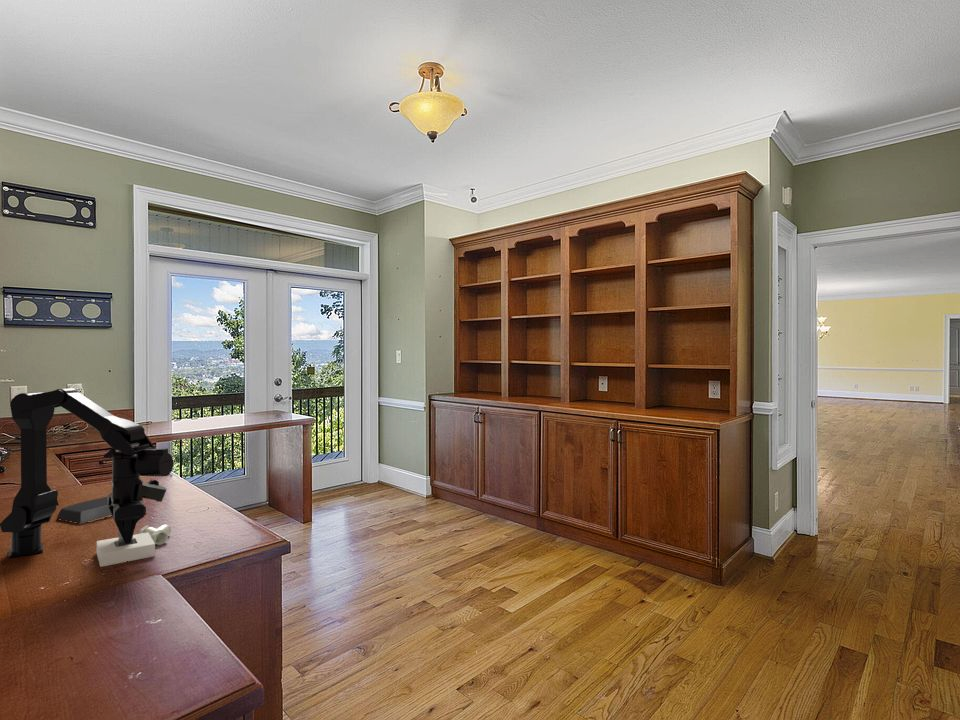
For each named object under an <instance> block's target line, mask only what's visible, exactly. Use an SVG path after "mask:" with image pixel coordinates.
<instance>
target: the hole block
mask: <svg viewBox="0 0 960 720" xmlns="http://www.w3.org/2000/svg"><path fill="white" fill-rule="evenodd" d="M96 557H97V561H98V564H99V566H100V568H101V567H107V566H111V565H117V564H122V563H127V561H128V562H132V561H136V560H142V559H148V558H153V557H156V544H155V543H154V541H153V539H152V538H151V536H150V534H149V533H148V532H147V533H141V534H139V533H136V534H133V544H130V545H124V546H119V547H118V537H114V538H105V539H101V540H100V539H99V540H96Z"/></svg>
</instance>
